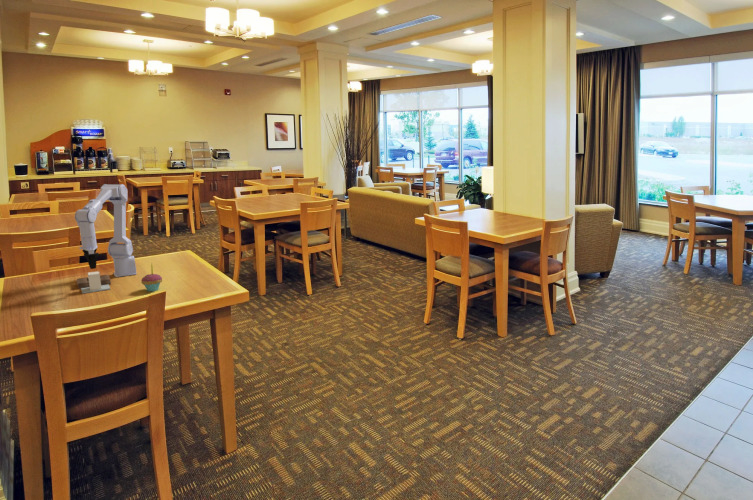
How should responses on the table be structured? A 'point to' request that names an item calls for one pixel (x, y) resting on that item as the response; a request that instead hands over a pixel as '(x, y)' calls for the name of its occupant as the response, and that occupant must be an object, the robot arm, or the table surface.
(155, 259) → the table surface
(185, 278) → the table surface
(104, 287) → the grey mat
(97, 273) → the cream block
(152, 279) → the cupcake
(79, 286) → the pocket board
